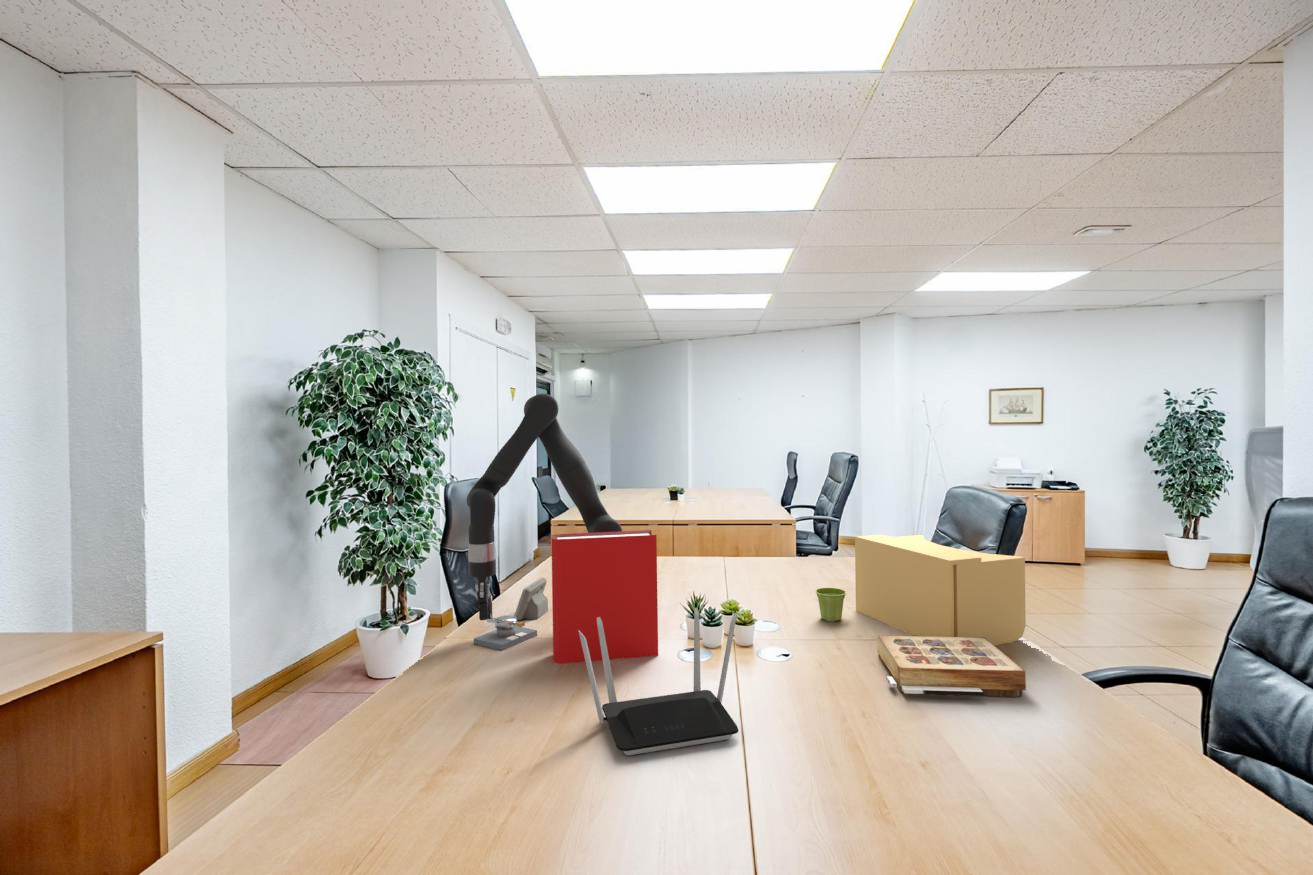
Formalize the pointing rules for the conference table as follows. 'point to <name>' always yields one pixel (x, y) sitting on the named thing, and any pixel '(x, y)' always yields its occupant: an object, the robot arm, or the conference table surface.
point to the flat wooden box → (949, 666)
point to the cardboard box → (940, 588)
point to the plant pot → (831, 603)
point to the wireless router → (664, 707)
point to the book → (604, 594)
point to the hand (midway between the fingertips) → (483, 619)
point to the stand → (505, 637)
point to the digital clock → (532, 601)
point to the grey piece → (502, 619)
